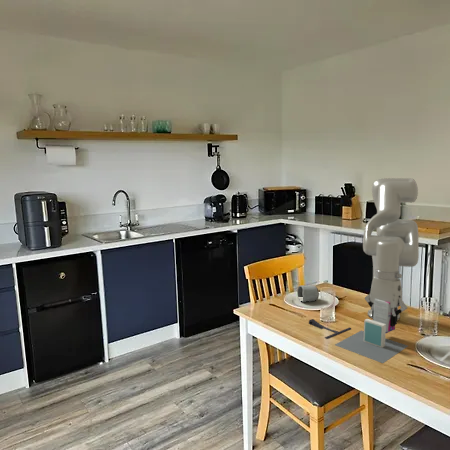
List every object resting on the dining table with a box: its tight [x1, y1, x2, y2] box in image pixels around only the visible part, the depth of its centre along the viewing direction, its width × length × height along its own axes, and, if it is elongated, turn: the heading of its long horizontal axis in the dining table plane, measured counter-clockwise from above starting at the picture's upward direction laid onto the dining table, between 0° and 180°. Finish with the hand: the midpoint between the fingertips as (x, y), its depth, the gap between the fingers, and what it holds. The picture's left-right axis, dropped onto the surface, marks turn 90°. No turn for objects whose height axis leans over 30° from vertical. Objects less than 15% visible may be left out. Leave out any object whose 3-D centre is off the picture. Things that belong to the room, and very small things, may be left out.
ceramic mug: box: [297, 285, 320, 303], centre depth 189 cm, size 11×8×8 cm
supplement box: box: [372, 299, 396, 334], centre depth 145 cm, size 6×6×12 cm
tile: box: [363, 318, 387, 348], centre depth 141 cm, size 2×7×8 cm, turn 41°
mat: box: [334, 329, 409, 364], centre depth 141 cm, size 18×18×1 cm
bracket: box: [308, 318, 352, 340], centre depth 156 cm, size 14×15×3 cm
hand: (384, 322), depth 145 cm, fingers closed on supplement box, 6 cm apart
